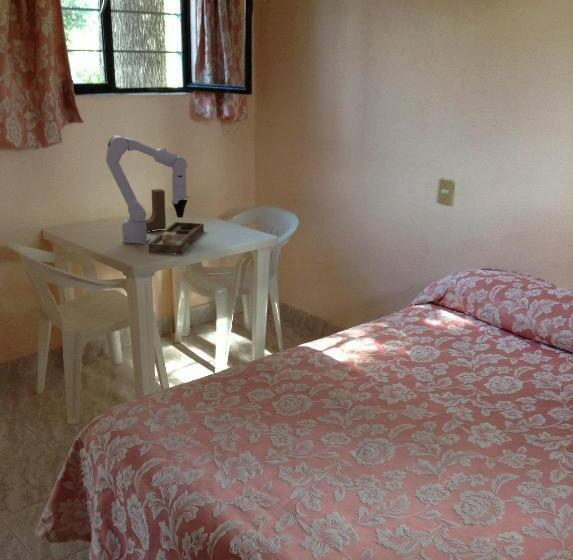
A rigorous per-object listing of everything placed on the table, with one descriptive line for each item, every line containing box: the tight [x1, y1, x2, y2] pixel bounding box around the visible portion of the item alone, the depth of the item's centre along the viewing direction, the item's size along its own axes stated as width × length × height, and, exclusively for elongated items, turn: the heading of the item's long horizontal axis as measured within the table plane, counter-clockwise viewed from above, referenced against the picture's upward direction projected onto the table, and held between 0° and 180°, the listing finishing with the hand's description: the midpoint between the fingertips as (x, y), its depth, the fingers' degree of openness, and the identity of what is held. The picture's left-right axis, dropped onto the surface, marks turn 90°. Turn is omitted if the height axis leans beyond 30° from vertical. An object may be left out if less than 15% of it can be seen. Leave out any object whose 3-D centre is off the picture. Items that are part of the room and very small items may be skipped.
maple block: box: [162, 232, 177, 245], centre depth 265 cm, size 4×4×4 cm
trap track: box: [148, 221, 205, 255], centre depth 278 cm, size 13×37×4 cm, turn 173°
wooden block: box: [146, 188, 167, 233], centre depth 291 cm, size 9×4×18 cm, turn 125°
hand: (180, 217), depth 279 cm, fingers closed
